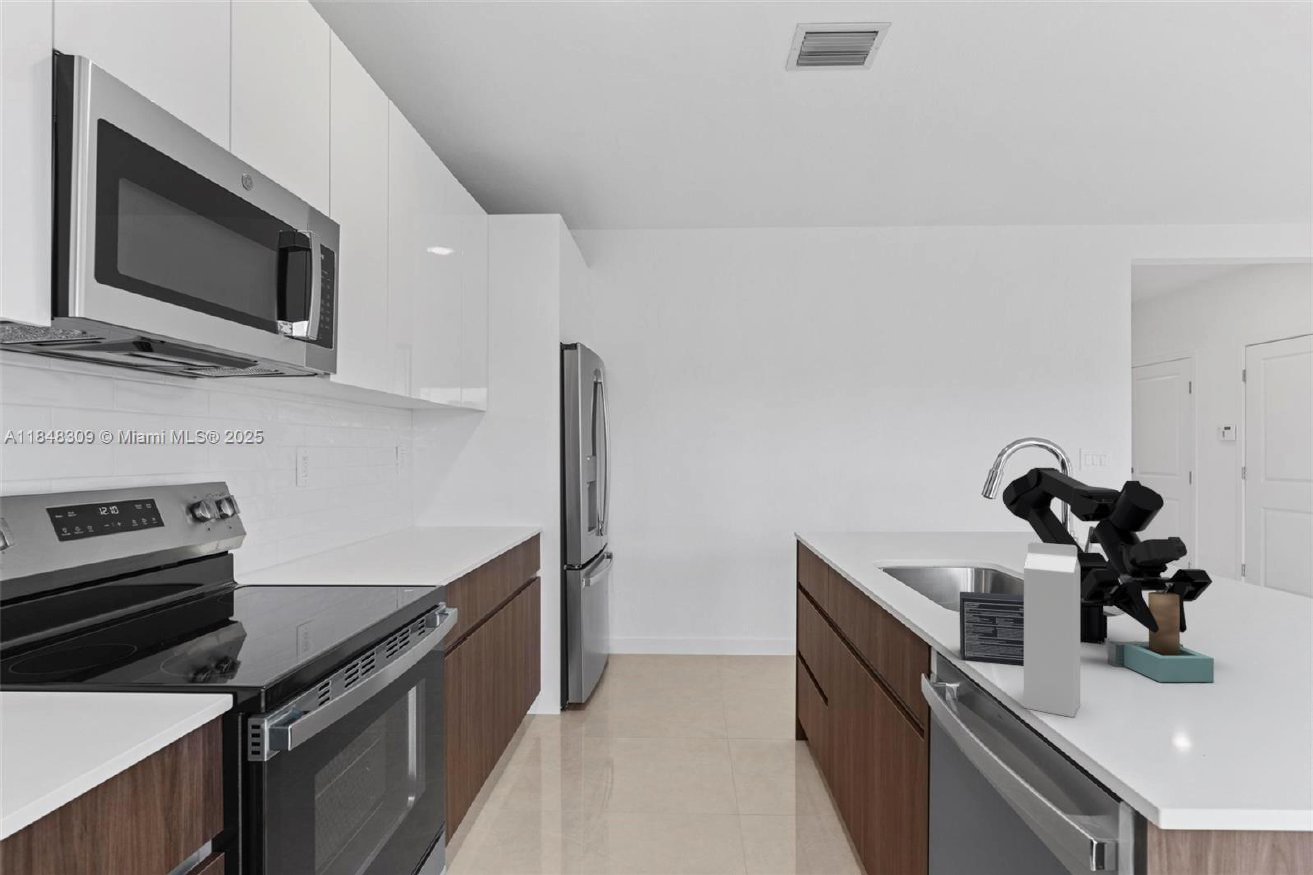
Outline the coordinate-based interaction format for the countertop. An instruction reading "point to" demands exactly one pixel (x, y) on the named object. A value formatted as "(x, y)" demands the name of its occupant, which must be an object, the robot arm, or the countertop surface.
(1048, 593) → the milk
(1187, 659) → the teal square frame
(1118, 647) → the bar
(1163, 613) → the dowel
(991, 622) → the small box
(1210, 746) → the countertop surface
